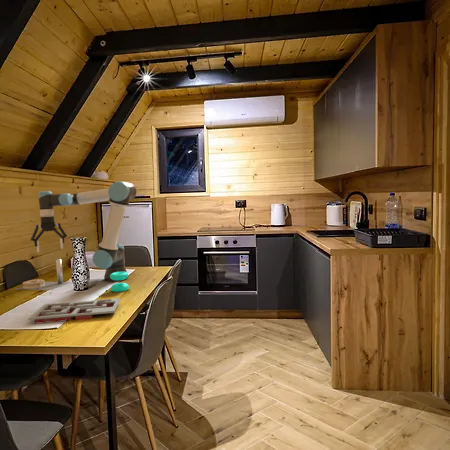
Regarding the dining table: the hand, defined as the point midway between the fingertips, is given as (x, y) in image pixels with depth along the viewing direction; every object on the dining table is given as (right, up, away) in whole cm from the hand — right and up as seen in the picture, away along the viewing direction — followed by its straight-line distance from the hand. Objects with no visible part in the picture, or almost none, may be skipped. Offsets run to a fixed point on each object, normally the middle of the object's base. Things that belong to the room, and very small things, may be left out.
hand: (50, 250), depth 212 cm
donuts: (+49, -22, -17) cm, 56 cm away
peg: (+7, -21, -1) cm, 22 cm away
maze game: (+42, -26, -56) cm, 74 cm away
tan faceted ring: (-6, -21, -7) cm, 23 cm away
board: (-1, -23, -6) cm, 23 cm away
